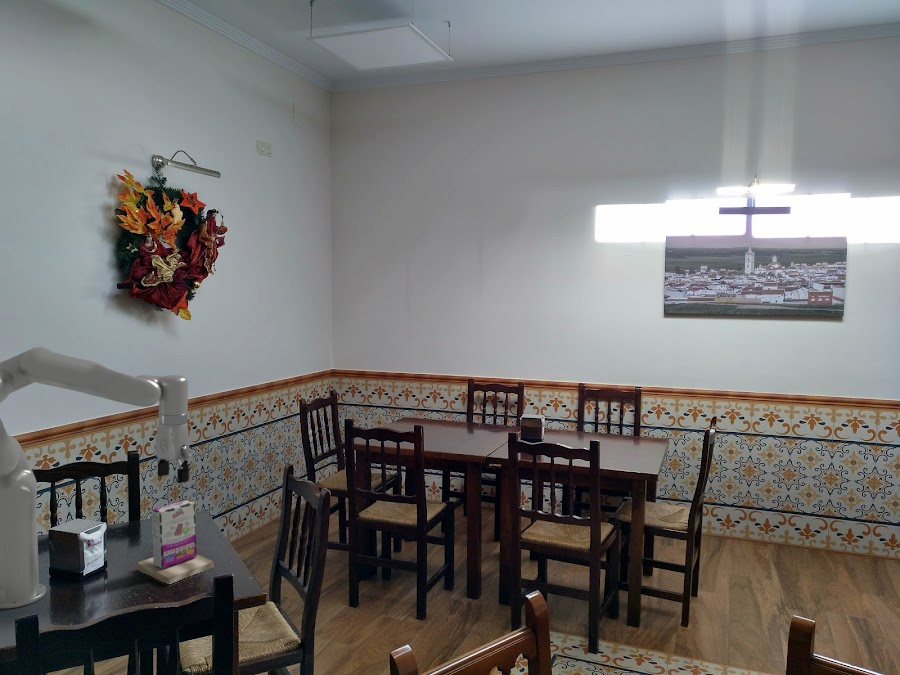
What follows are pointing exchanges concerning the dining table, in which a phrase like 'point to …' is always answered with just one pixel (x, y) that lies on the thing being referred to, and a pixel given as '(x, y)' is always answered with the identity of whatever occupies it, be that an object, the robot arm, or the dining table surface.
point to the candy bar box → (173, 534)
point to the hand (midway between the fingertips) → (173, 478)
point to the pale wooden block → (176, 569)
